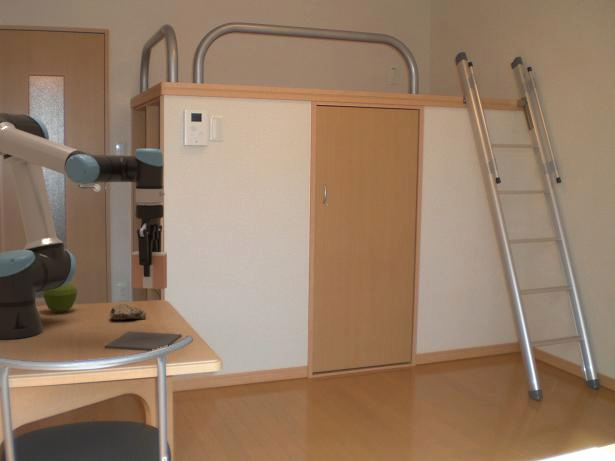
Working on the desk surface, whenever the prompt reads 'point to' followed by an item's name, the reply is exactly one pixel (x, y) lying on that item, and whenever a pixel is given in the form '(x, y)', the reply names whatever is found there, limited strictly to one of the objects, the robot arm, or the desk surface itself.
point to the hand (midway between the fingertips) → (150, 286)
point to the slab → (158, 270)
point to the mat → (142, 341)
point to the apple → (60, 298)
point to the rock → (126, 312)
